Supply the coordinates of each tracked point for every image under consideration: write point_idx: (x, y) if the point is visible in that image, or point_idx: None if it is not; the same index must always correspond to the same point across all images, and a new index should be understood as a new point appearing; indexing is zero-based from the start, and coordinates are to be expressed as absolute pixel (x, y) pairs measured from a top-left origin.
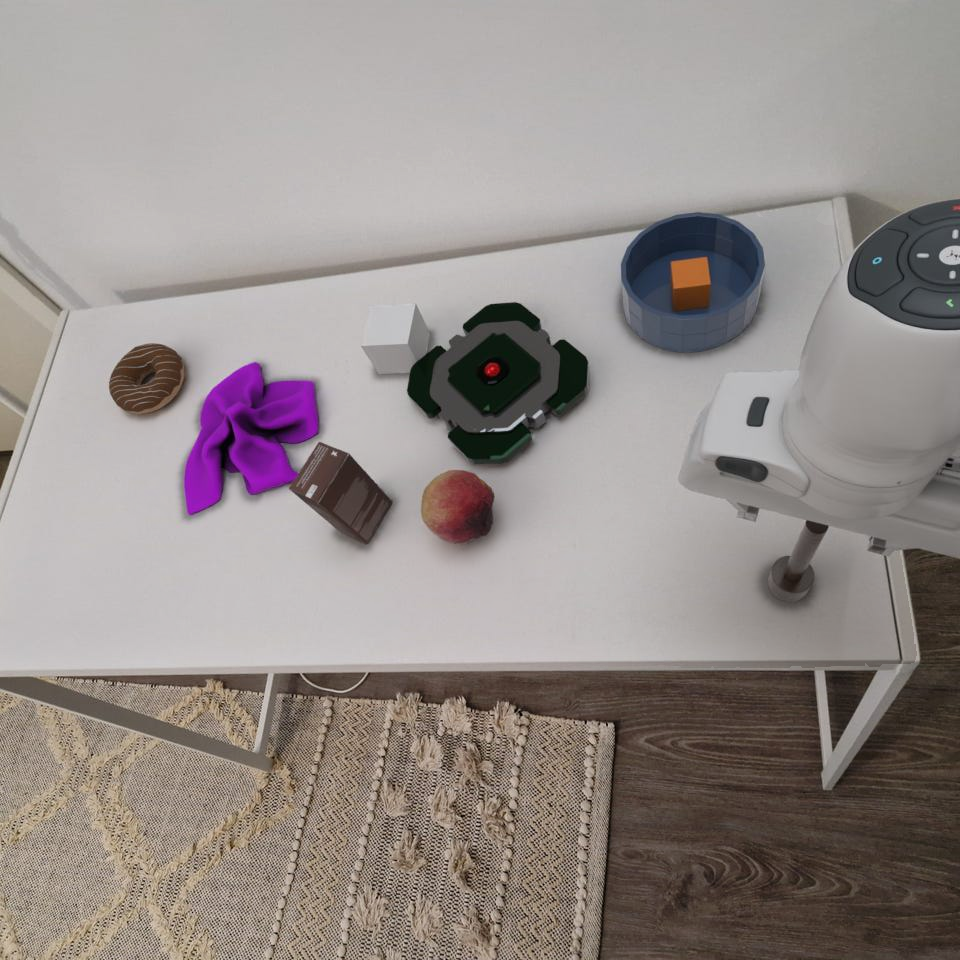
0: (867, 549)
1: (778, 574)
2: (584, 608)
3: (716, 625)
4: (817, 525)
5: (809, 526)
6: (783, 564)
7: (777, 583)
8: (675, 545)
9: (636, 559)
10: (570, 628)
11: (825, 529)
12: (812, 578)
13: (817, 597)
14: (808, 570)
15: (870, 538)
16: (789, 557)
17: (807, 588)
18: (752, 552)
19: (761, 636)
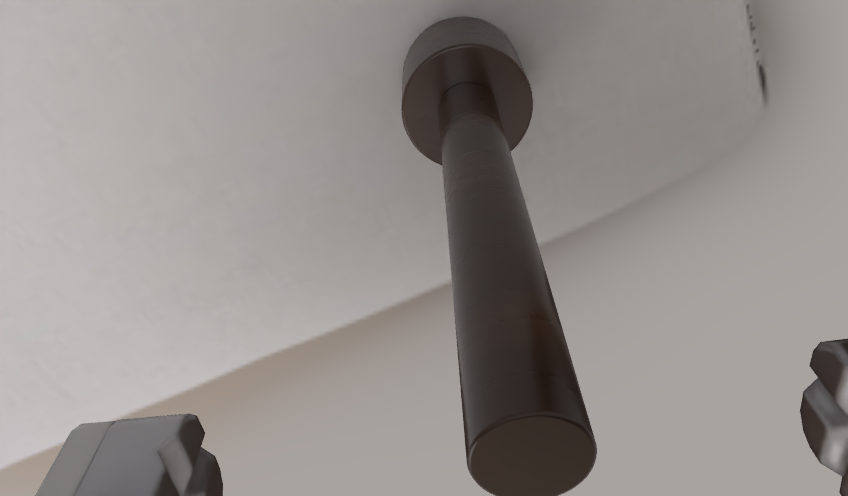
0: (809, 437)
1: (427, 130)
2: (37, 338)
3: (335, 253)
4: (535, 469)
5: (494, 487)
6: (430, 91)
7: (434, 157)
8: (115, 96)
9: (51, 181)
10: (46, 384)
11: (583, 467)
12: (527, 99)
13: (548, 79)
14: (509, 78)
15: (825, 385)
16: (439, 61)
17: (521, 137)
18: (329, 20)
19: (444, 234)
